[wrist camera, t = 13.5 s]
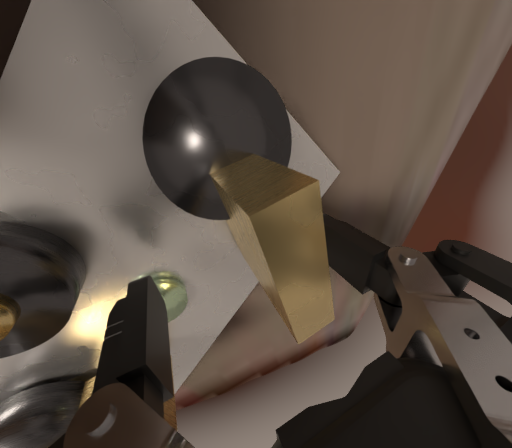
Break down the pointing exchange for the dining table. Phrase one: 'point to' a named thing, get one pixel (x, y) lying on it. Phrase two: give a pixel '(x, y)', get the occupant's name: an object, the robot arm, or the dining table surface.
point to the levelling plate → (105, 190)
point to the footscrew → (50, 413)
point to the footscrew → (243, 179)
